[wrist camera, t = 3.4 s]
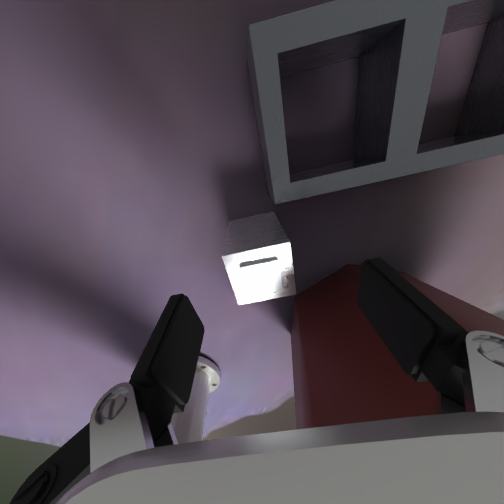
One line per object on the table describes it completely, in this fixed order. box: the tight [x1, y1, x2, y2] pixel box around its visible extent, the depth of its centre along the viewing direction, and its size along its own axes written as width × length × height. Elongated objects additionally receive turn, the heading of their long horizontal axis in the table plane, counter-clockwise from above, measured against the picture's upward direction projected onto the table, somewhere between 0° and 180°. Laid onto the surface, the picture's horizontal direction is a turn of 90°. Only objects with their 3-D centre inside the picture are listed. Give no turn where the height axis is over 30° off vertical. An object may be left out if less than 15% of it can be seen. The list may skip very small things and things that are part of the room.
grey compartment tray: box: [247, 0, 504, 204], centre depth 12 cm, size 26×9×4 cm, turn 102°
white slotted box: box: [222, 211, 296, 305], centre depth 16 cm, size 4×4×7 cm
